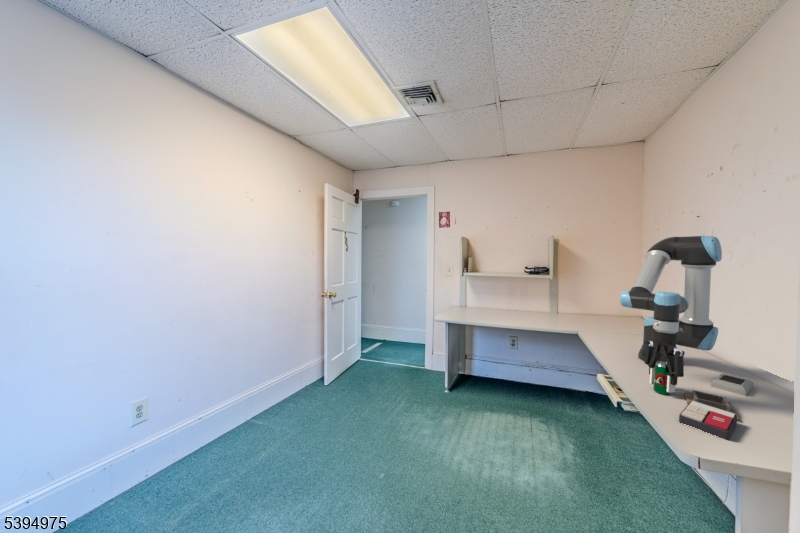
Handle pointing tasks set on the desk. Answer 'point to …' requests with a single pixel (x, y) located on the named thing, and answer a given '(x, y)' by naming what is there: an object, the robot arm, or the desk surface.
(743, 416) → the desk surface
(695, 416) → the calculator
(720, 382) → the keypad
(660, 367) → the soda can
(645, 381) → the desk surface
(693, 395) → the can holder
